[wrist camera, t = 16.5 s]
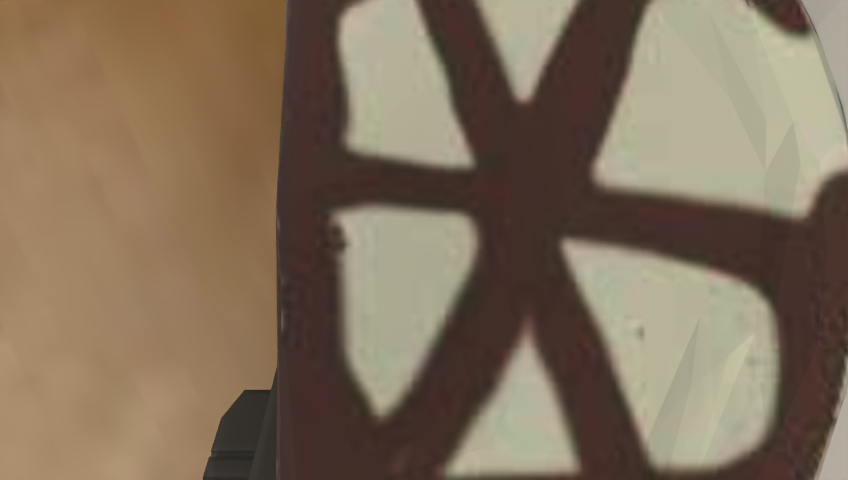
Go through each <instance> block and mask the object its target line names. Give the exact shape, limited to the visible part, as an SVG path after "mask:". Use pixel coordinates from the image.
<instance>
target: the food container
mask: <svg viewBox="0 0 848 480" xmlns="http://www.w3.org/2000/svg"><path fill="white" fill-rule="evenodd" d="M276 246H277V350H278V357H277V459H276V480H848V0H288V1H287V27H286V49H285V66H284V83H283V100H282V117H281V133H280V150H279V167H278V184H277V201H276Z"/></svg>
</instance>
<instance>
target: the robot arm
mask: <svg viewBox="0 0 848 480" xmlns="http://www.w3.org/2000/svg"><path fill="white" fill-rule="evenodd" d="M211 452H212V454H211V457H209V460H208V463H207V466H206V469H205V472H204V476H203V480H276V459H277V369H276V373H275V377H274V381H273V385H272V389H271V390H244V391H243V393H242V394H241V395H240V396H239V397H238V399H237V400H236V401H235V402H234V403H233V405H232V406H231V407H230V408H229V410H228V411H227V412H226V413H225V414H224V416H223V417H222V418H221V421H220V424H219V427H218V431H217V434H216V437H215V440H214V443H213V447H212V450H211Z"/></svg>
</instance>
